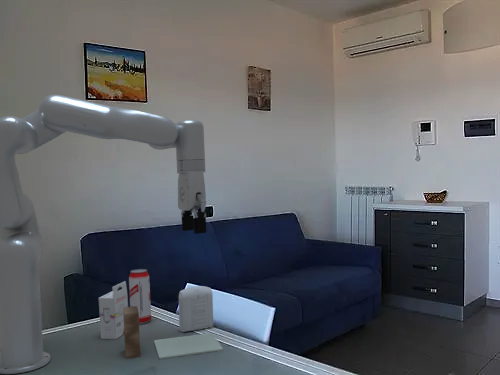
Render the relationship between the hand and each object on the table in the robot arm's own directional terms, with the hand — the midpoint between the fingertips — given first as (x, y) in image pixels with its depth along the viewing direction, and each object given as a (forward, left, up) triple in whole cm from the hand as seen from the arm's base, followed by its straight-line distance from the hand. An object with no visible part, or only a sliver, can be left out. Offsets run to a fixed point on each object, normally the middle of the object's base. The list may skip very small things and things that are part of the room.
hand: (193, 231), depth 132 cm
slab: (-17, -2, -30) cm, 34 cm away
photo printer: (+2, +12, -30) cm, 32 cm away
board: (-3, -2, -30) cm, 30 cm away
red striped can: (-13, +26, -30) cm, 42 cm away
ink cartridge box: (-21, +16, -30) cm, 40 cm away
